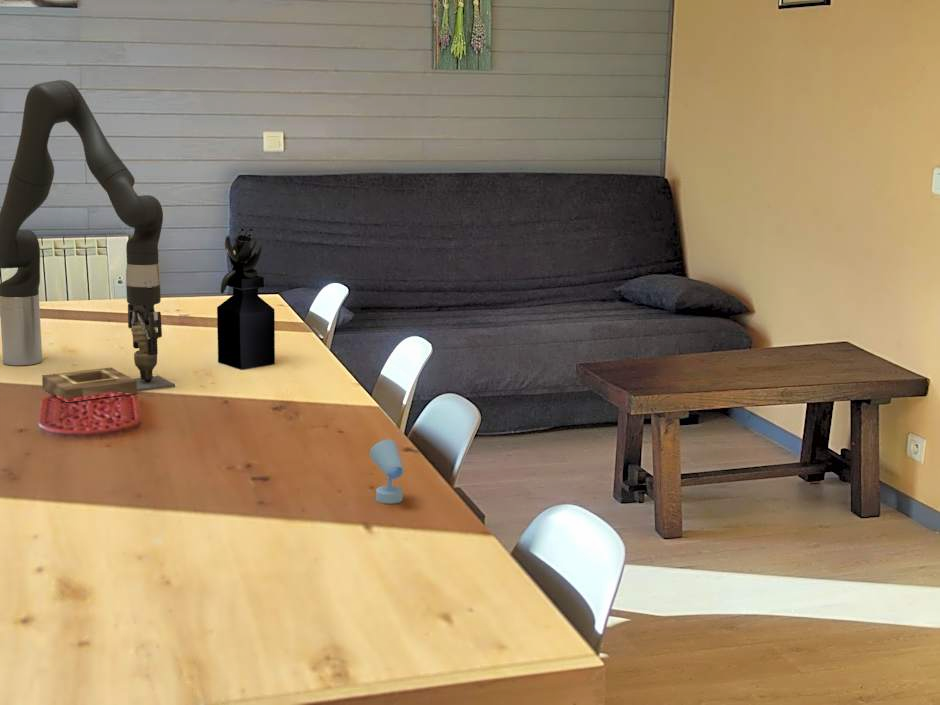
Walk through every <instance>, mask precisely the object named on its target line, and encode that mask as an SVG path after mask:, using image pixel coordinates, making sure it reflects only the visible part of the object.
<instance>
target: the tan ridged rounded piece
mask: <svg viewBox="0 0 940 705" xmlns="http://www.w3.org/2000/svg"><path fill="white" fill-rule="evenodd" d="M146 326H149V325H146ZM132 330H133V332H131V336H132V342H133V341H134V342H137V343H138V347H139V348H138V350H136V351H135V352H134V353H133V360H134V365H135V367H136V368H137V369H138V370H139V374H140V376H139V378H141V380H145V382H147V383H148V382H151V380H152V378H153V376H154V375H153V374H154V373H153V371H154V369H155V367H156V366H157V365H158V354H157V355H151V356H150V355H148V354H147V337H146V333H145V332H144V331H143V330H142V327H141V323H140V322H137V326H132ZM149 333H150V331H149ZM133 336H134V338H133Z"/></svg>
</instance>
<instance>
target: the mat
mask: <svg viewBox="0 0 940 705" xmlns="http://www.w3.org/2000/svg"><path fill="white" fill-rule="evenodd" d="M133 379H134V380H136V381H137V393H138V392H143V391H144V392H145V391H152V390H159V389H167V388H175V387H176V384H175V383H174V382H173V381H172V382H171V381H170V380H168V379H165V377H162V376H160V375H153V378H152V380H151V382H148V383H147V382H145V380H141V377H138V378H137V377H136V378H133Z"/></svg>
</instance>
